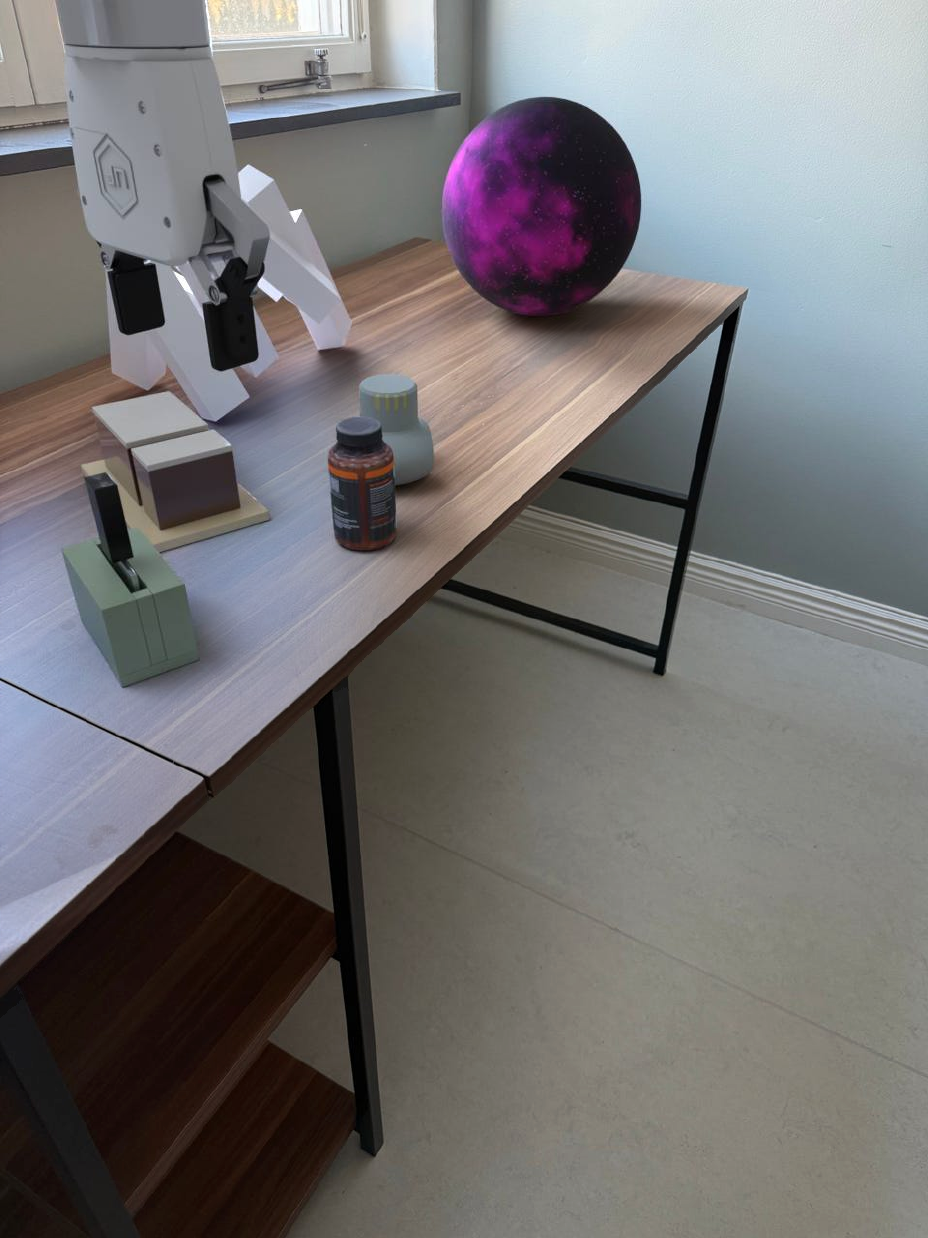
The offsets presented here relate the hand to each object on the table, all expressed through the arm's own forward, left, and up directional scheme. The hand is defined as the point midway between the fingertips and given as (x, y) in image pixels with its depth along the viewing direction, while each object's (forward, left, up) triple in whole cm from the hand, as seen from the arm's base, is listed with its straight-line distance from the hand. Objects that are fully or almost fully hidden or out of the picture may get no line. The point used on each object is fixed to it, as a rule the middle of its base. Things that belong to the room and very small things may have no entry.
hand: (187, 346), depth 56 cm
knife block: (-6, +4, -24) cm, 25 cm away
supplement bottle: (+17, +8, -24) cm, 30 cm away
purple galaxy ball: (+76, +55, -24) cm, 97 cm away
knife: (-6, +4, -23) cm, 24 cm away
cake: (+5, +26, -24) cm, 36 cm away
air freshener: (+26, +18, -24) cm, 39 cm away
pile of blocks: (+24, +53, -24) cm, 63 cm away
